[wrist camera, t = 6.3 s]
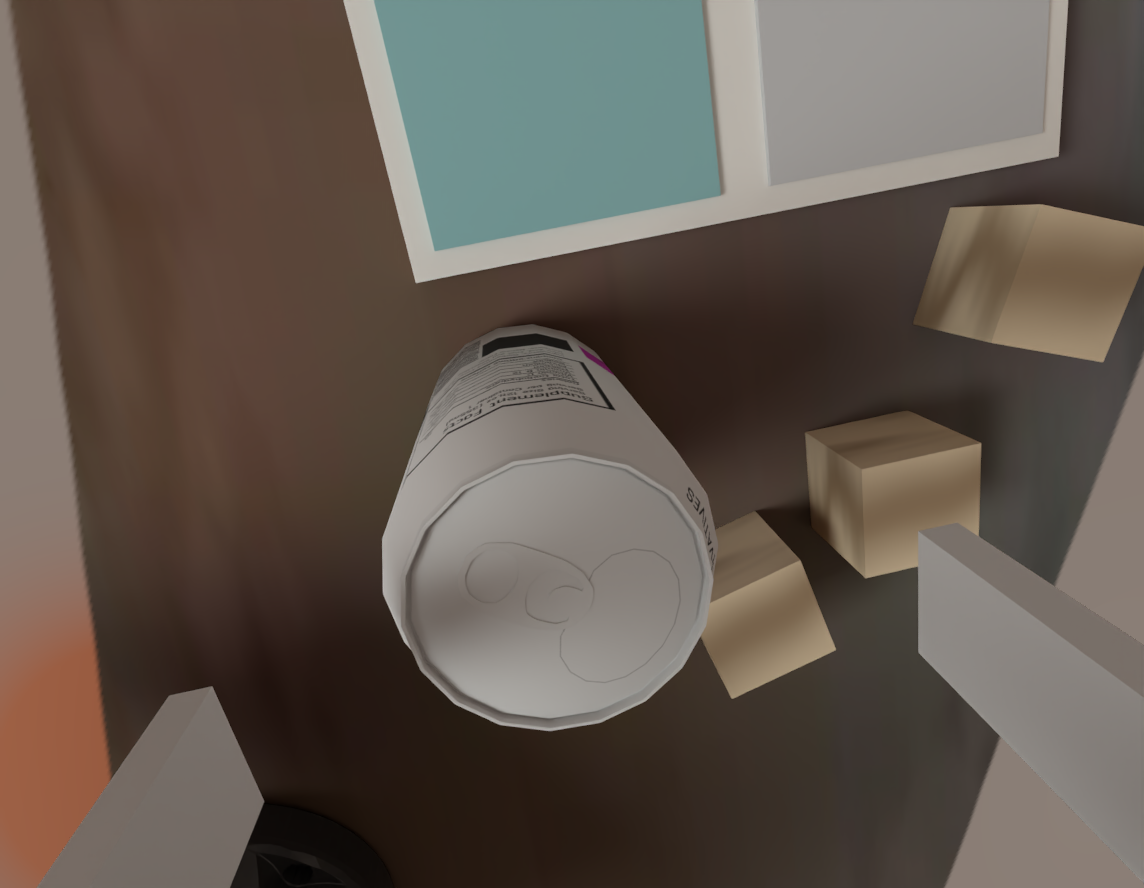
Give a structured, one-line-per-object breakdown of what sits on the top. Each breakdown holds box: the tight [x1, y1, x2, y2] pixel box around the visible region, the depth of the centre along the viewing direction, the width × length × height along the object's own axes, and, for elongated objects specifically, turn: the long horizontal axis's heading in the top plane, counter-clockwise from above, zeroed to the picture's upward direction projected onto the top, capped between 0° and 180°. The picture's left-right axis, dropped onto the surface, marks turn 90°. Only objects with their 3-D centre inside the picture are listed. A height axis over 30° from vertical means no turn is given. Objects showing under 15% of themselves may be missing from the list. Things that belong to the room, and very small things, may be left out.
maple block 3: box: [913, 204, 1144, 362], centre depth 27 cm, size 5×5×5 cm
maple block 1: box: [700, 511, 836, 699], centre depth 30 cm, size 5×5×5 cm
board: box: [344, 0, 1068, 283], centre depth 24 cm, size 15×26×2 cm, turn 100°
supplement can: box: [382, 324, 718, 731], centre depth 22 cm, size 8×8×15 cm
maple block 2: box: [805, 410, 981, 578], centre depth 29 cm, size 5×5×5 cm
